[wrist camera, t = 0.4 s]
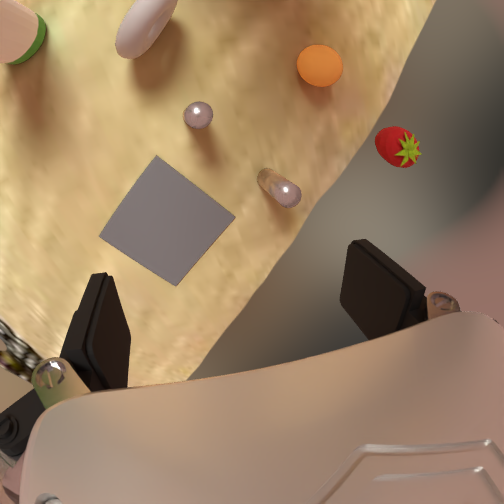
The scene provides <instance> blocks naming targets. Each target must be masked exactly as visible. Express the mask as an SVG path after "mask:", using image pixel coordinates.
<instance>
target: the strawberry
mask: <svg viewBox="0 0 504 504" xmlns="http://www.w3.org/2000/svg"><path fill="white" fill-rule="evenodd" d="M419 142H420V141H418V142H417V141H416V139H415V137H414V134H413V135H412V134H411V133H410V132H409V131H407V130H405V129H403V128H400V127H396V126H395V127H394V126H393V127H388V128H384V129H382V130H381V131H380V132H379V133H378V134H377V135H376V137H375V145H376V147H377V151H378V152H379V154H380V155H381V156H382V157H383V158H384V159H385V160H386V161H387V162H388V163H390V164H391V165H393V166H396V167H403V168H404V167H405V168H407V167H410V166H412V165H413V164H414V163H415V164H416V160H417V158H418V155H420V154H421V153H420V152H419V146H418V144H419Z"/></svg>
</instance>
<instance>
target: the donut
mask: <svg viewBox="0 0 504 504" xmlns="http://www.w3.org/2000/svg"><path fill="white" fill-rule="evenodd" d="M176 5H177V0H136V1H135V3H134V4H133V5H132V6H131V8H130V9H129V11H128V12H127V14H126V15H125V17H124V19H123V21H122V23H121V25H120V27H119V30H118V33H117V36H116V43H115V46H116V50H117V53H118V54H119V55H120V56H121V57H123V58H127V59H135V58H137V57H139V56H141V55H142V54H144V53H145V52H146V51H147V50H148V49H149V48H150V47H151V45H152V44H153V43H154V42H155V40H156V39H157V38H158V36H159V35H160V33H161V32H162V30H163V29H164V27H165V26H166V24H167V22H168V21H169V19H170V17H171V15H172V14H173V12H174V10H175V7H176Z"/></svg>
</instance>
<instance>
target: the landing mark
mask: <svg viewBox="0 0 504 504" xmlns="http://www.w3.org/2000/svg"><path fill="white" fill-rule="evenodd" d="M234 218H235V216H234V215H232V214H231V213H230V212H228V211H227V210H226V209H225V208H223V207H222V206H221V205H220V204H218V203H217V202H216V201H215V200H213V199H212V198H211V197H209V196H208V195H207V194H206V193H204V192H203V191H202V190H201V189H199V188H198V187H197V186H195V185H194V184H193V183H192V182H190V181H189V180H188V179H186V178H185V177H184V176H183V175H181V174H180V173H179V172H177V171H176V170H175V169H174V168H172V167H171V166H170V165H168V164H167V163H166V162H164V161H163V160H162V159H161V158H159V157H158V156H157V155H156V156H155V158H154V159H153V160H152V162H151V163H150V164H149V165H148V167H147V168H146V169H145V171H144V172H143V173H142V175H141V176H140V177H139V179H138V180H137V181H136V183H135V184H134V185H133V187H132V188H131V189H130V191H129V192H128V194H127V195H126V196H125V198H124V199H123V201H122V202H121V204H120V205H119V206H118V208H117V209H116V211H115V212H114V214H113V215H112V217H111V218H110V220H109V221H108V223H107V224H106V226H105V227H104V229H103V231H102V232H101V234H100V235H99V237H100V238H102V239H103V240H105V241H106V242H108V243H109V244H111V245H112V246H114V247H115V248H117V249H118V250H120V251H121V252H123V253H124V254H126V255H127V256H129V257H130V258H132V259H133V260H135V261H136V262H138V263H139V264H141V265H142V266H144V267H146V268H147V269H149V270H150V271H152V272H153V273H155V274H157V275H158V276H160V277H161V278H163V279H165V280H166V281H168V282H169V283H171V284H173V285H174V286H176V285H177V284H178V283H179V282H180V281H181V279H182V278H183V277H184V276H185V275H186V274H187V272H188V271H189V270H190V269H191V268H192V267H193V265H194V264H195V263H196V262H197V261H198V260H199V258H200V257H201V256H202V255H203V254H204V253H205V251H206V250H207V249H208V248H209V247H210V246H211V244H212V243H213V242H214V241H215V240H216V239H217V238H218V236H219V235H220V234H221V233H222V232H223V231H224V230H225V228H226V227H227V226H228V225H229V224H230V223H231V222H232V221H233V219H234Z"/></svg>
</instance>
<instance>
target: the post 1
mask: <svg viewBox="0 0 504 504" xmlns="http://www.w3.org/2000/svg"><path fill="white" fill-rule="evenodd" d="M212 118H213V111H212V109H211V107H210V106H209V105H208V104H207V103H204V102H194V103H192V104H190V105H189V106H188V107H187V108H186V109H185V110H184V112H183V119H184V121H185V122H186V123H187V124H188V125H189V126H190V127H192V128H195V129H201V128H204V127H206V126H208V125H209V124H210V122H211V121H212Z"/></svg>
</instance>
